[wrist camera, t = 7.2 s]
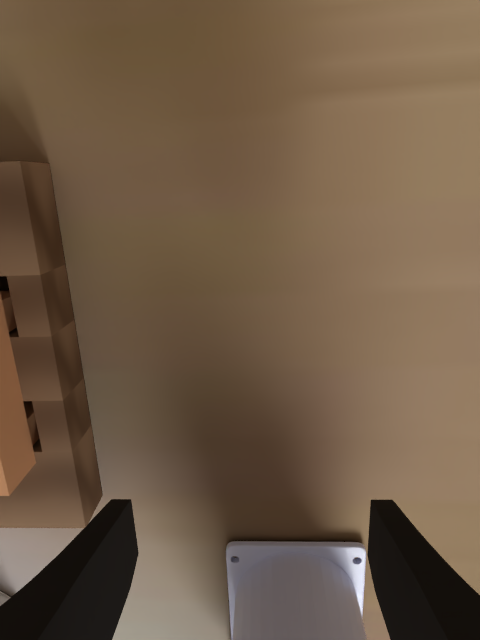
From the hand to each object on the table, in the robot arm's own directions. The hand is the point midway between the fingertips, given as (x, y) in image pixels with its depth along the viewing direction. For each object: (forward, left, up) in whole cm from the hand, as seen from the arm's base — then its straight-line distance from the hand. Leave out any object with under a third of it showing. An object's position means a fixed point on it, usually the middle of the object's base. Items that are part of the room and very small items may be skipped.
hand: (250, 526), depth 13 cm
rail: (+2, +12, -10) cm, 16 cm away
